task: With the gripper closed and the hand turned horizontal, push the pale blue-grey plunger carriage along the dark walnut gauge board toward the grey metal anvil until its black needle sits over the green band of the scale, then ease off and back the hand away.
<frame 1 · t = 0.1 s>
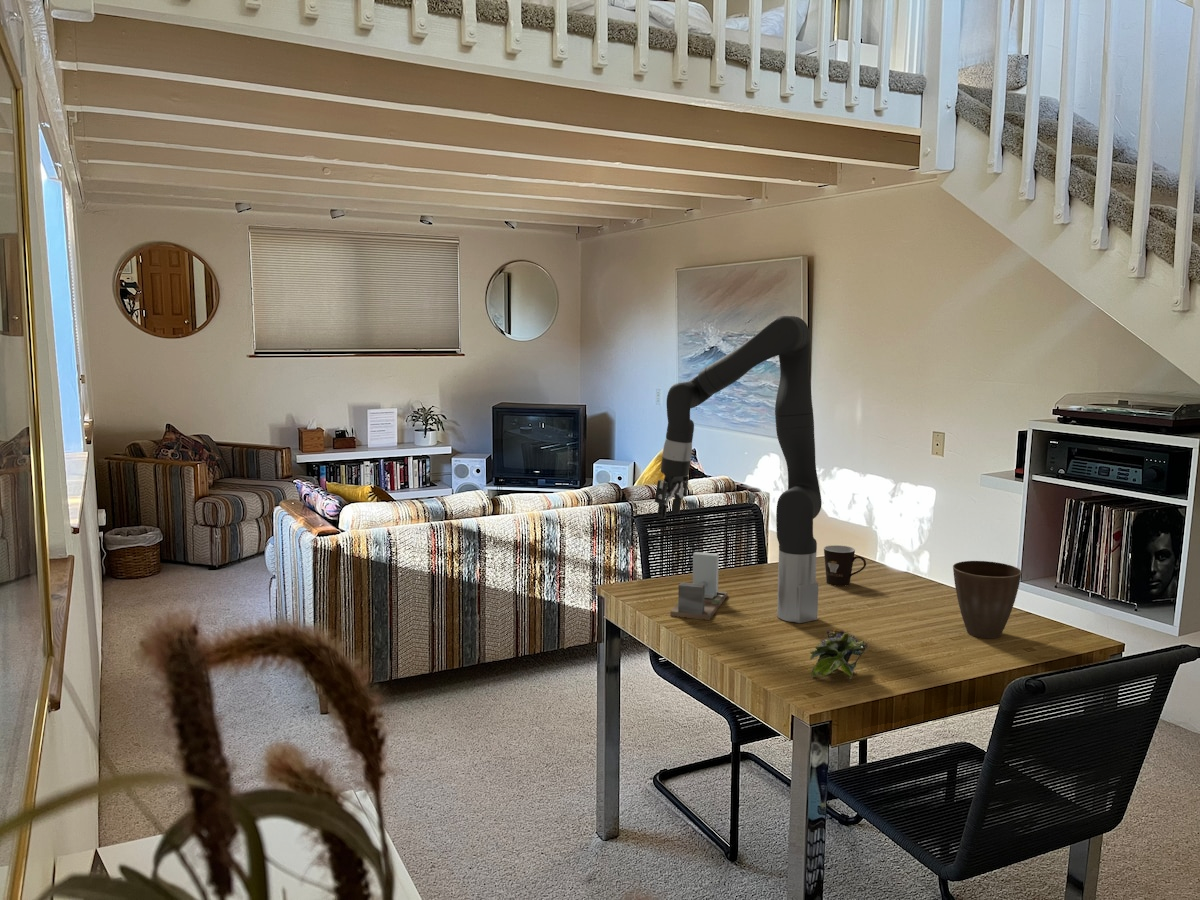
hand: (668, 515, 245), 22 cm above the table, tool pointing down, fingers open, 8 cm apart
plant pot: (983, 634, 218), on the table
coffee mug: (841, 585, 260), on the table
carriage: (707, 576, 241), point 7 cm above the table, slide at 0.0 cm
gauge board: (699, 605, 239), on the table
passion flower: (839, 676, 191), on the table
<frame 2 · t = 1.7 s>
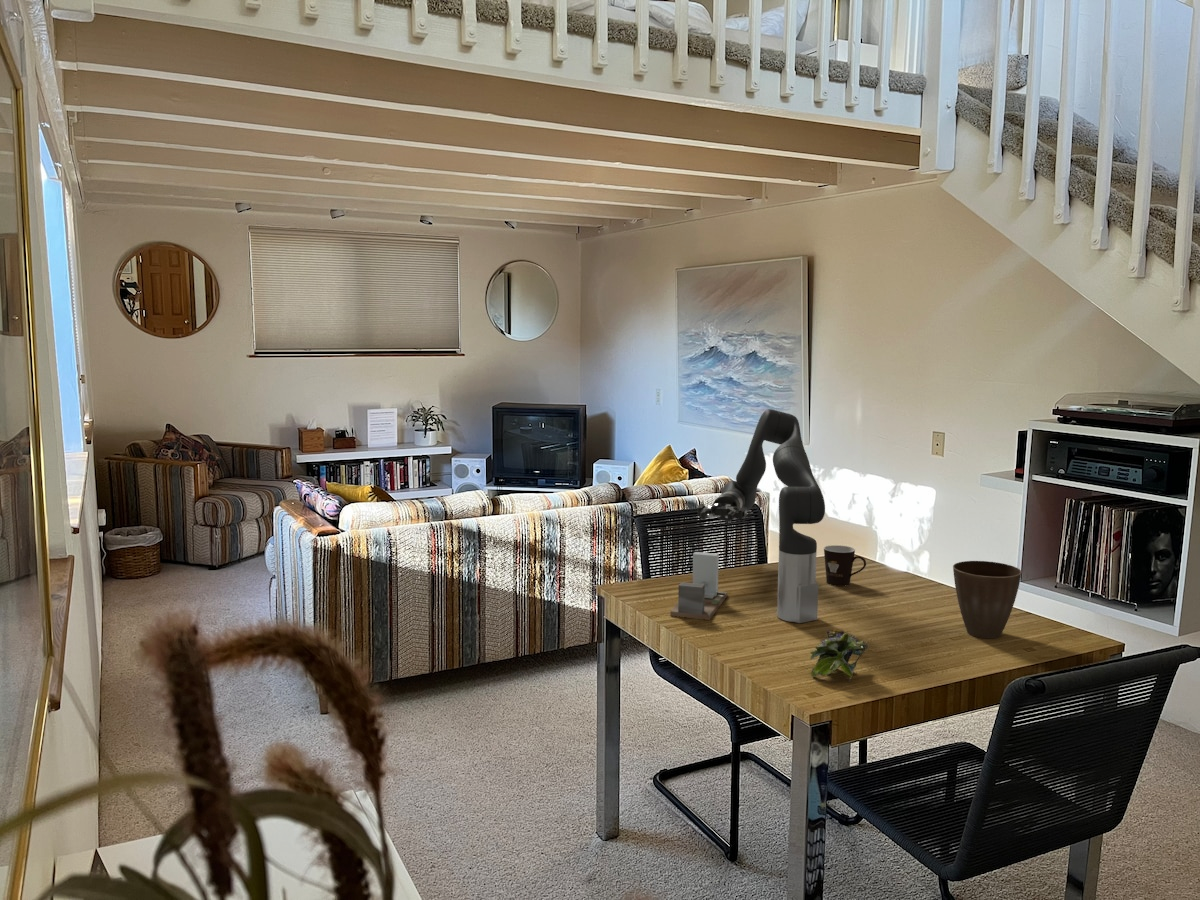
hand: (716, 516, 254), 20 cm above the table, tool horizontal, fingers open, 6 cm apart
nothing on the table moved.
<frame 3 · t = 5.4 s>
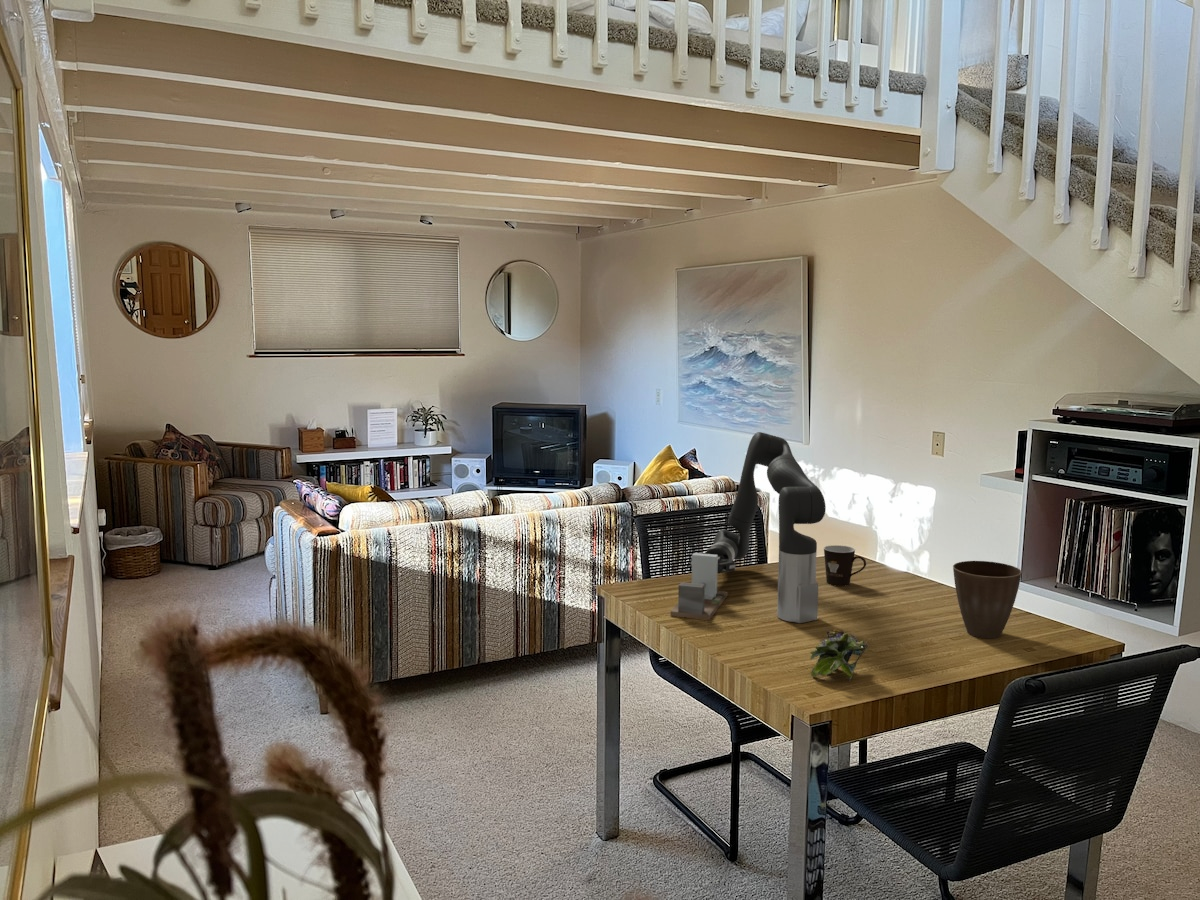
hand: (705, 572, 244), 8 cm above the table, tool horizontal, fingers closed
carriage: (706, 577, 240), point 7 cm above the table, slide at 1.1 cm, touching gripper
everything else where it was.
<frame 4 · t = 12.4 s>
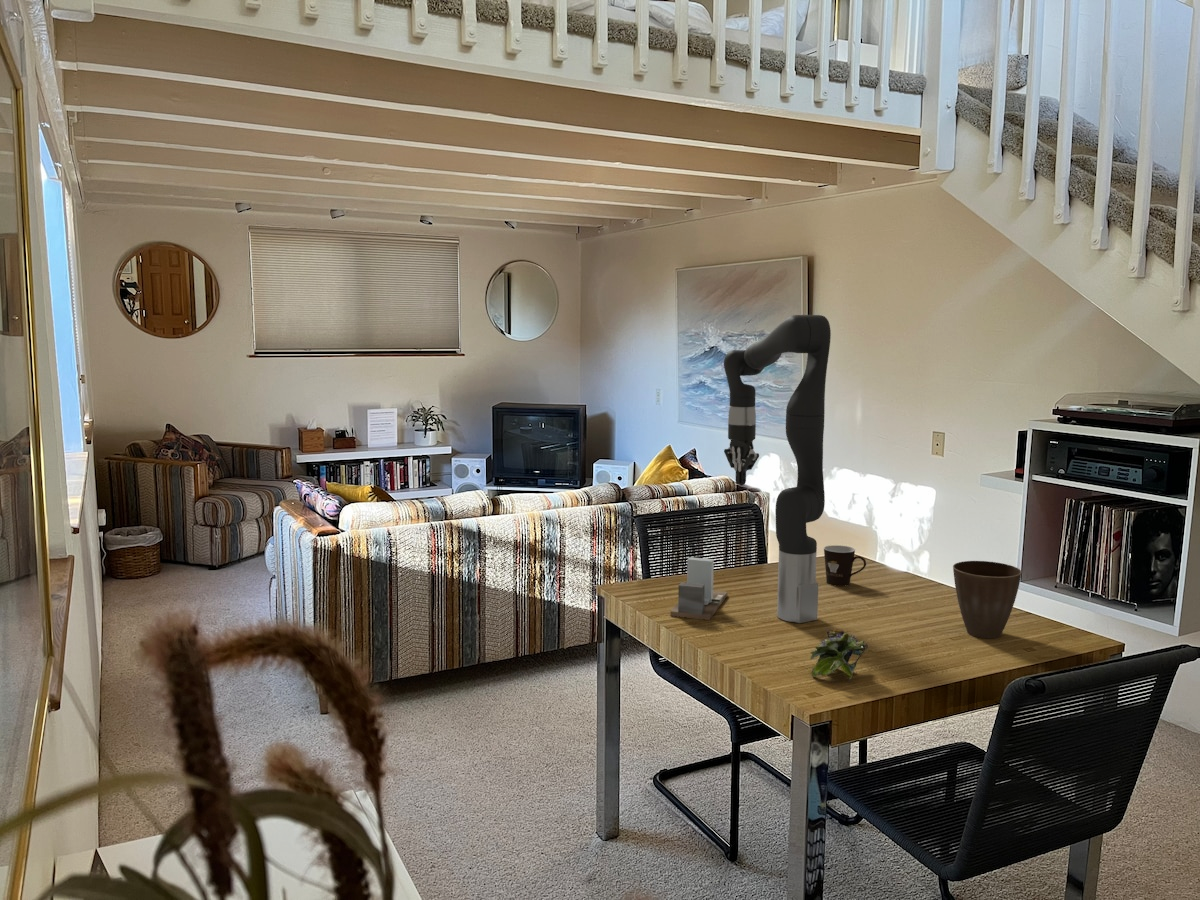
hand: (740, 484, 255), 29 cm above the table, tool pointing down, fingers closed
carriage: (701, 582, 236), point 7 cm above the table, slide at 6.1 cm
everything else where it was.
at the end: carriage slide at 6.1 cm; carriage touching nothing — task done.
